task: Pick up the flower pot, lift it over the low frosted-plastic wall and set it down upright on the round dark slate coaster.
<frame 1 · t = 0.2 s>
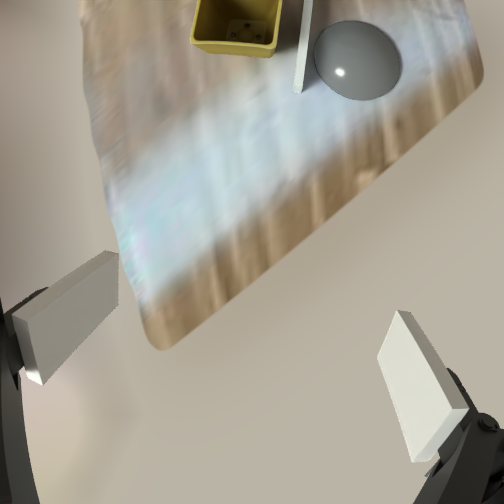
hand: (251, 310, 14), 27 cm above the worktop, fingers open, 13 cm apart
flower pot: (247, 37, 34), on the worktop
coaster: (357, 60, 33), on the worktop
wall: (303, 42, 33), on the worktop
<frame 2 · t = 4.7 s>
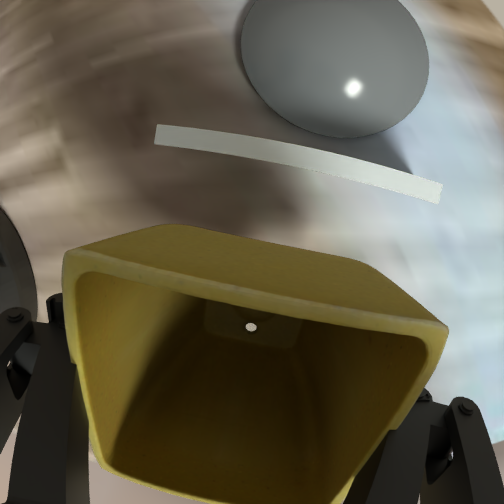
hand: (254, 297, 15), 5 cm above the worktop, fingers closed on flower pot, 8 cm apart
flower pot: (257, 292, 16), point 4 cm above the worktop, touching gripper
coaster: (337, 49, 15), on the worktop
wall: (300, 156, 18), on the worktop
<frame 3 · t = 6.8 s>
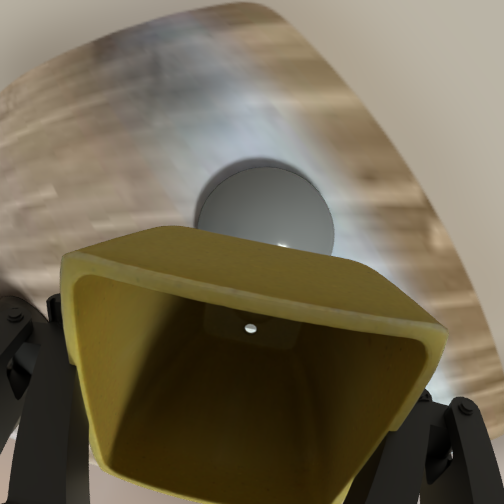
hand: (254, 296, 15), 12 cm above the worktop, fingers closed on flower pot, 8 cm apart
flower pot: (256, 293, 16), point 11 cm above the worktop, touching gripper
coaster: (265, 234, 26), on the worktop
when the fingers open (2 cm above the worktop, at t = 9.2 s): flower pot drops 1 cm, point 1 cm above the worktop.
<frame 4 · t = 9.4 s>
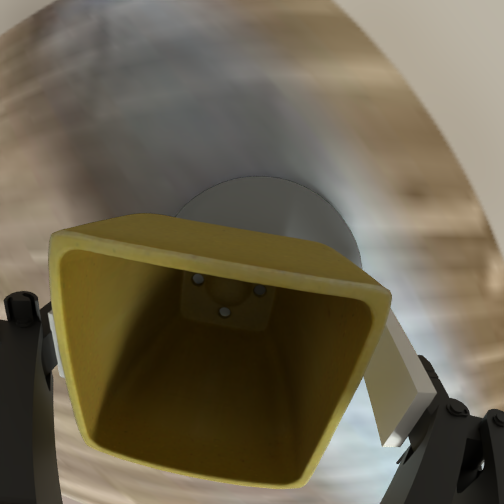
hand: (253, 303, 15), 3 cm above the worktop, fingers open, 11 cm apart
flower pot: (229, 278, 17), point 1 cm above the worktop, touching gripper
coaster: (259, 278, 18), on the worktop
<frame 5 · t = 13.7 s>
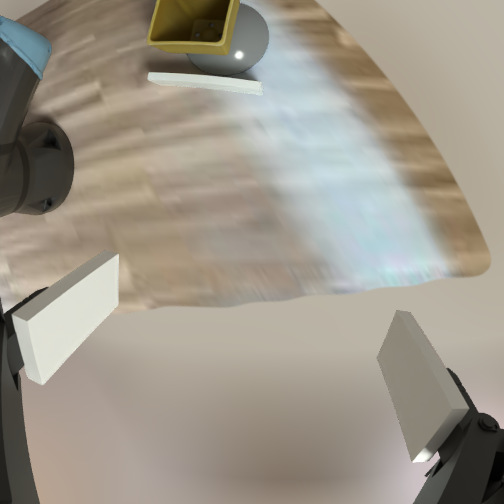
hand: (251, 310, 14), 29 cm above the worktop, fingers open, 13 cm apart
flower pot: (209, 35, 34), point 1 cm above the worktop, touching coaster
coaster: (226, 38, 35), on the worktop
wall: (209, 85, 37), on the worktop
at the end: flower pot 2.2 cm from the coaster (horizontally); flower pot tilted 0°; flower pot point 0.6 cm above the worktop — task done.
